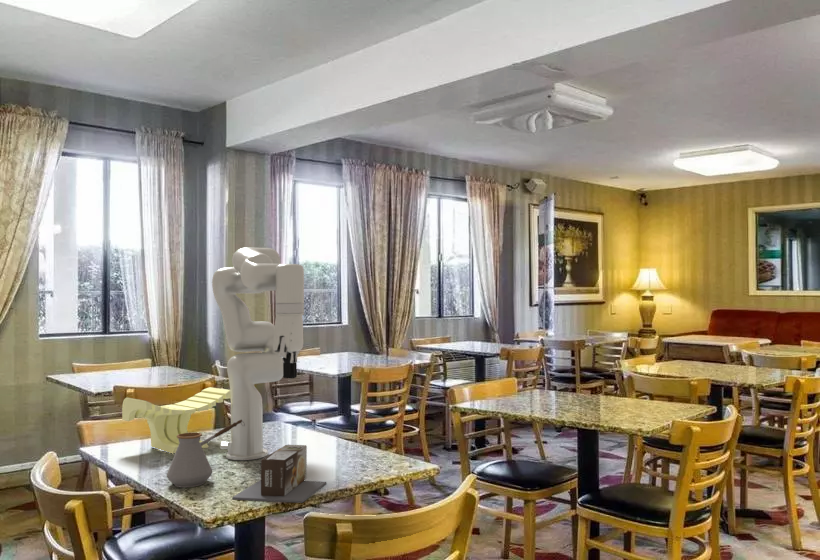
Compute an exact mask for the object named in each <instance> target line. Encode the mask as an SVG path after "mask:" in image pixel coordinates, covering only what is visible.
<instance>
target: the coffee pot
mask: <svg viewBox="0 0 820 560" xmlns="http://www.w3.org/2000/svg"><path fill="white" fill-rule="evenodd" d="M241 422H243V421H242V420H239V421H237V422H236V423H235V422H234V423H233V424H232V425H231V424H230V425H227V426H225V427H223V428H222V429H221V430H219V431H218V432H216V433H214V434H213V435H211V436H210V437H208V438H206V439H204V440H201V437H202V435H203V433H201V432H188V433H183V434H179V435H177V438H178V440H179V445H178V448H177V450H176V453H175V454H173V458H172V460H171V463H170V465H169V468H168V470H167V473H166V478H167V479H168V481H169V482H170V483H171V484H174V487H177V488H192V487H193V488H194V487H198V486H202V485H204V484H205V483H206V481H208V480H209V479H210V477H211V476H212V474H213V468H212V466H211V465H210V462H209V460H208V457H207V455H206V454H205V451H204V448H202V445H204V444H206V443H209V442H211V441H212V440H213V439H215V438H217V437H219V436H222V435H223V434H225V433H227V432H229V431H231V429H232V428H233V427H236V426H237V424H240V423H241ZM243 423H244V422H243ZM241 425H242V423H241ZM242 426H243V425H242ZM244 426H245V423H244ZM200 440H201V441H202V442H199V441H200Z"/></svg>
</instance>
